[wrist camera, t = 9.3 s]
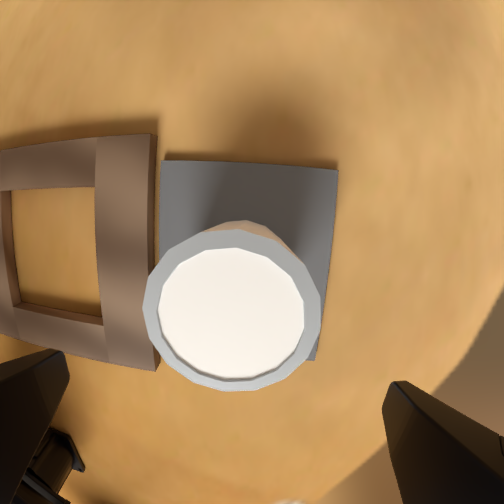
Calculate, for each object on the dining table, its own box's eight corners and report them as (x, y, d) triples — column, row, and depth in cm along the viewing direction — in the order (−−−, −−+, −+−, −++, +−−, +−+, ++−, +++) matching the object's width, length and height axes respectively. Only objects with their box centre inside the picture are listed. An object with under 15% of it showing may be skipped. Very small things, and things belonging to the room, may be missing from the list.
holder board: (160, 362, 21) (155, 371, 19) (3, 326, 21) (-5, 331, 20) (157, 136, 17) (150, 133, 16) (-14, 155, 17) (-24, 155, 16)
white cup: (167, 228, 18) (115, 259, 11) (283, 194, 17) (297, 204, 10) (205, 332, 19) (180, 404, 12) (312, 305, 19) (336, 372, 12)
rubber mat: (313, 356, 20) (314, 360, 19) (165, 345, 20) (163, 348, 20) (336, 170, 17) (338, 170, 17) (163, 160, 17) (161, 160, 17)
